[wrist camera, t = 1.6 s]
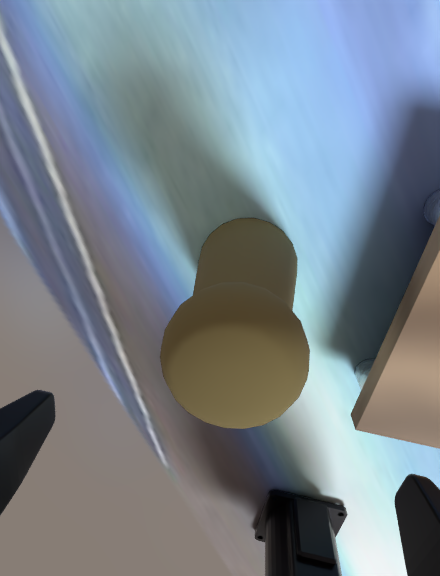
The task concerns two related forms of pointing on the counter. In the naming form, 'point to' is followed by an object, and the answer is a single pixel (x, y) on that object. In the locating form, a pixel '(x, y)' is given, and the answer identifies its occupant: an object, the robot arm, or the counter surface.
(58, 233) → the counter surface
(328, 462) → the counter surface
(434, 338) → the shelf board
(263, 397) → the cork
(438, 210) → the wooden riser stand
